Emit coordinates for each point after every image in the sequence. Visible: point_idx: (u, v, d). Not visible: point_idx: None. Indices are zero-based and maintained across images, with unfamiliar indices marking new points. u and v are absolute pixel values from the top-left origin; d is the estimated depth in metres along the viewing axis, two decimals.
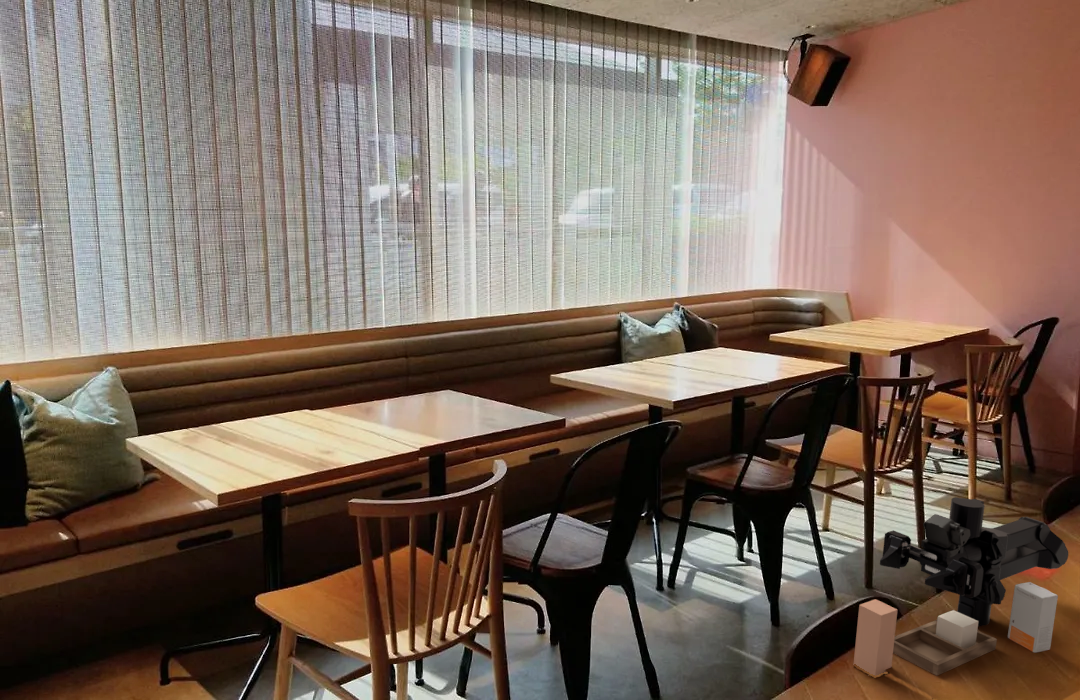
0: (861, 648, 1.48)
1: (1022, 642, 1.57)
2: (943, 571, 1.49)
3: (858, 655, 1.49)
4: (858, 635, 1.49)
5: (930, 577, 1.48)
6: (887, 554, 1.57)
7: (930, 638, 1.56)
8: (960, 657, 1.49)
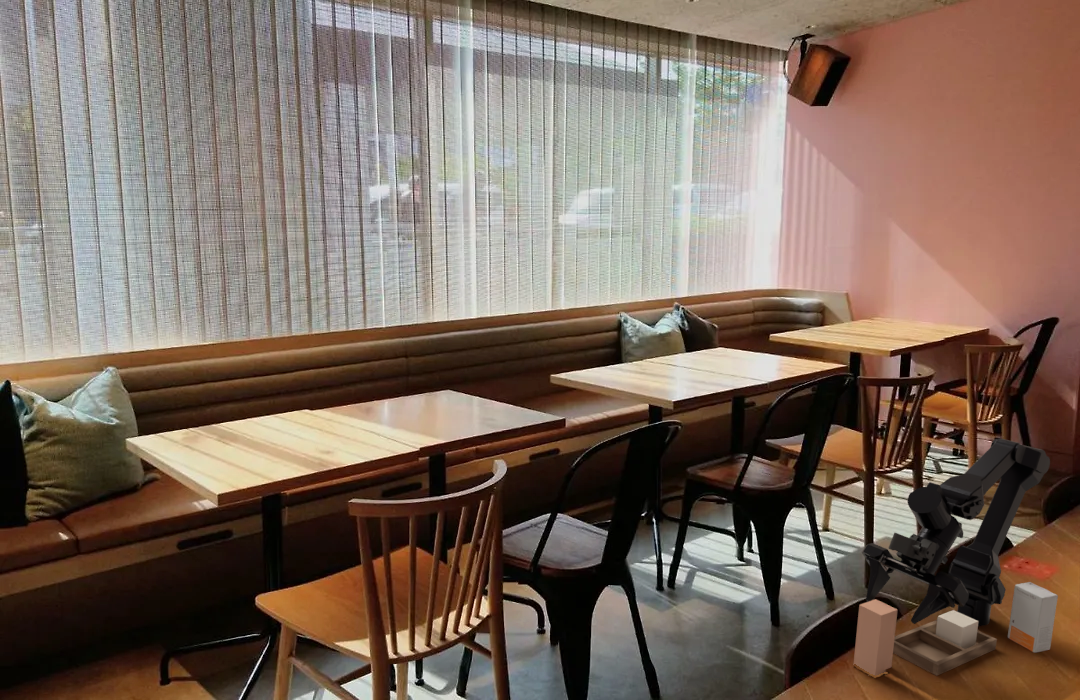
0: (861, 648, 1.48)
1: (1022, 642, 1.57)
2: (924, 601, 1.46)
3: (858, 655, 1.49)
4: (858, 635, 1.49)
5: (914, 616, 1.45)
6: (870, 587, 1.54)
7: (930, 638, 1.56)
8: (960, 657, 1.49)
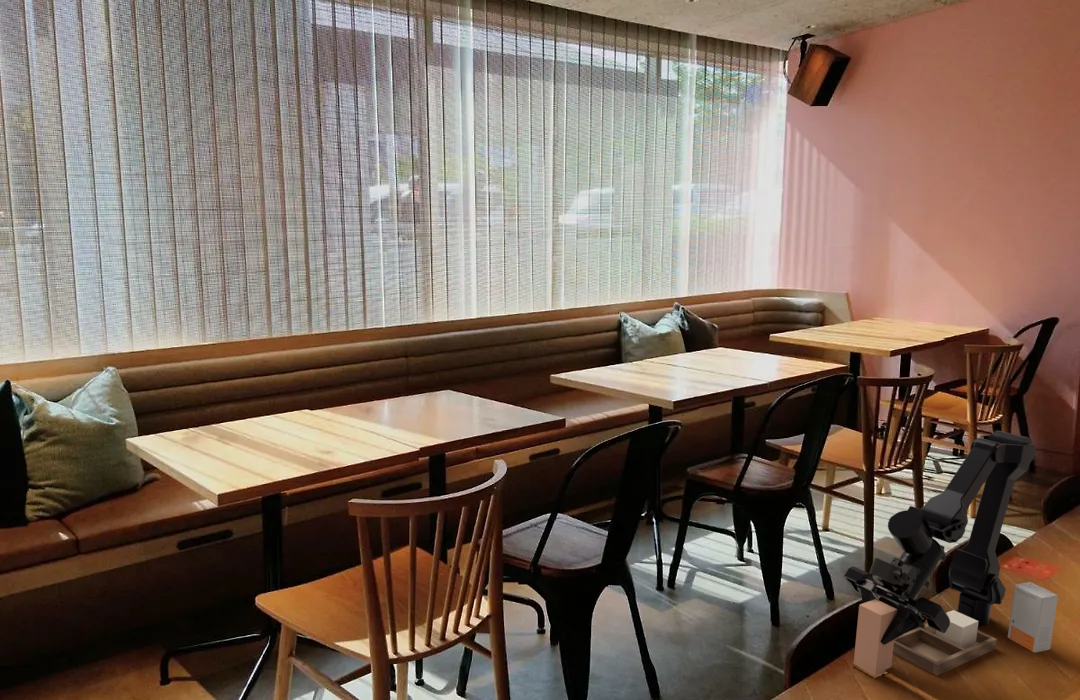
0: (861, 648, 1.48)
1: (1022, 642, 1.57)
2: (894, 621, 1.46)
3: (858, 655, 1.49)
4: (858, 635, 1.49)
5: (884, 637, 1.45)
6: None
7: (930, 638, 1.56)
8: (960, 657, 1.49)
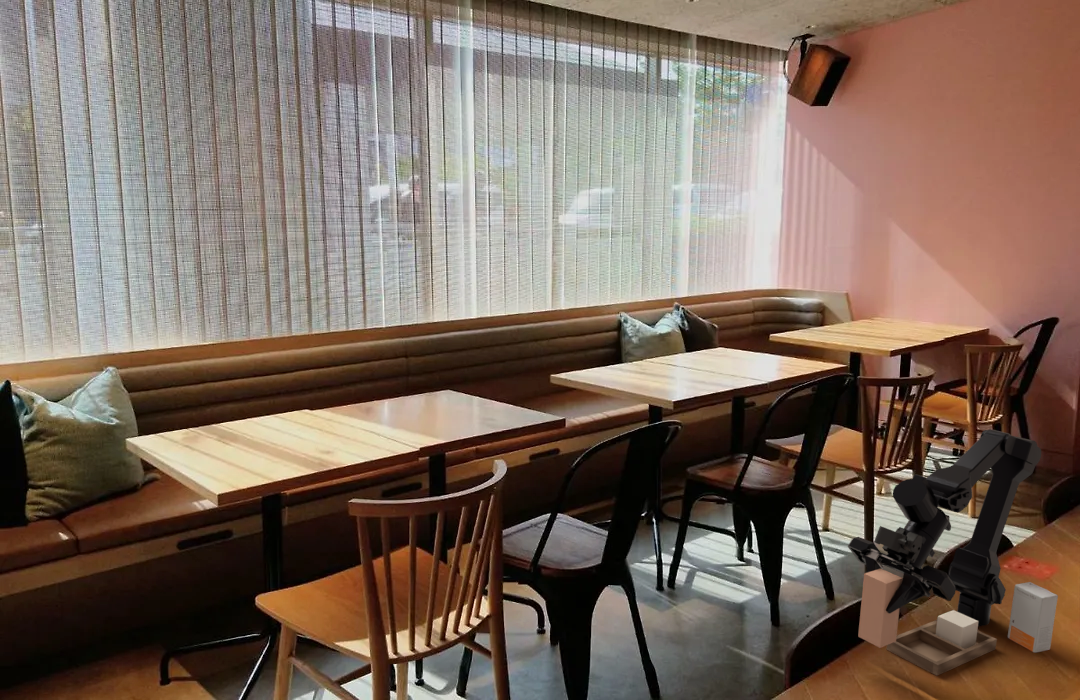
0: (866, 617, 1.47)
1: (1022, 642, 1.57)
2: (899, 590, 1.45)
3: (863, 624, 1.48)
4: (863, 605, 1.48)
5: (889, 606, 1.45)
6: None
7: (930, 638, 1.56)
8: (960, 657, 1.49)
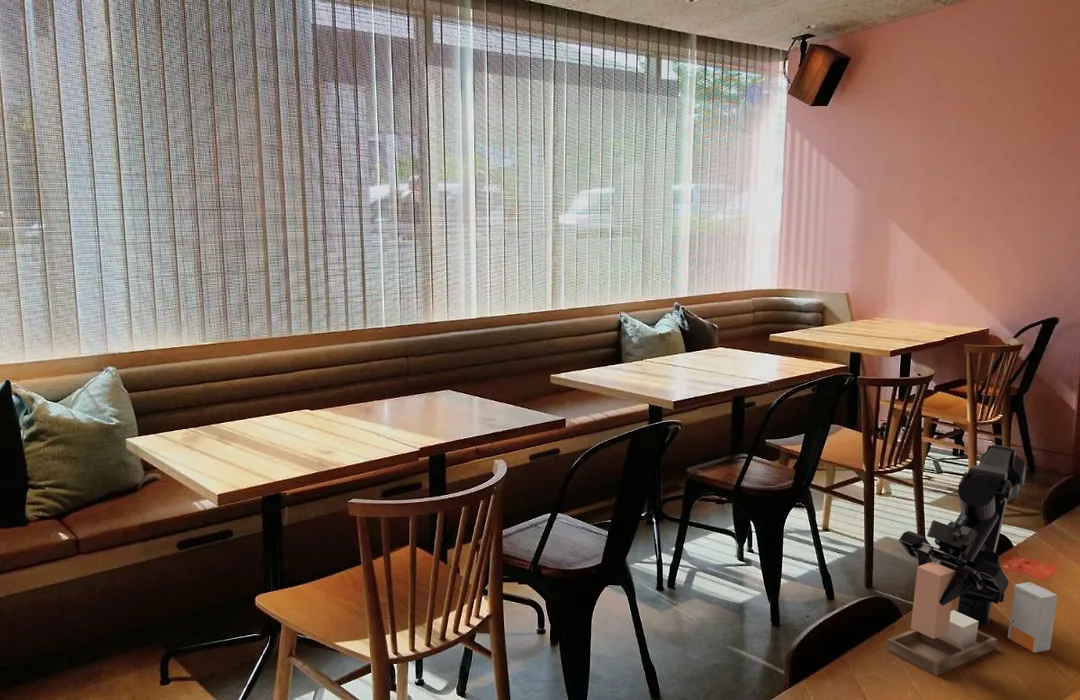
0: (920, 609, 1.51)
1: (1022, 642, 1.57)
2: (953, 582, 1.48)
3: (916, 616, 1.52)
4: (916, 597, 1.51)
5: (943, 598, 1.48)
6: None
7: (930, 638, 1.56)
8: (960, 657, 1.49)
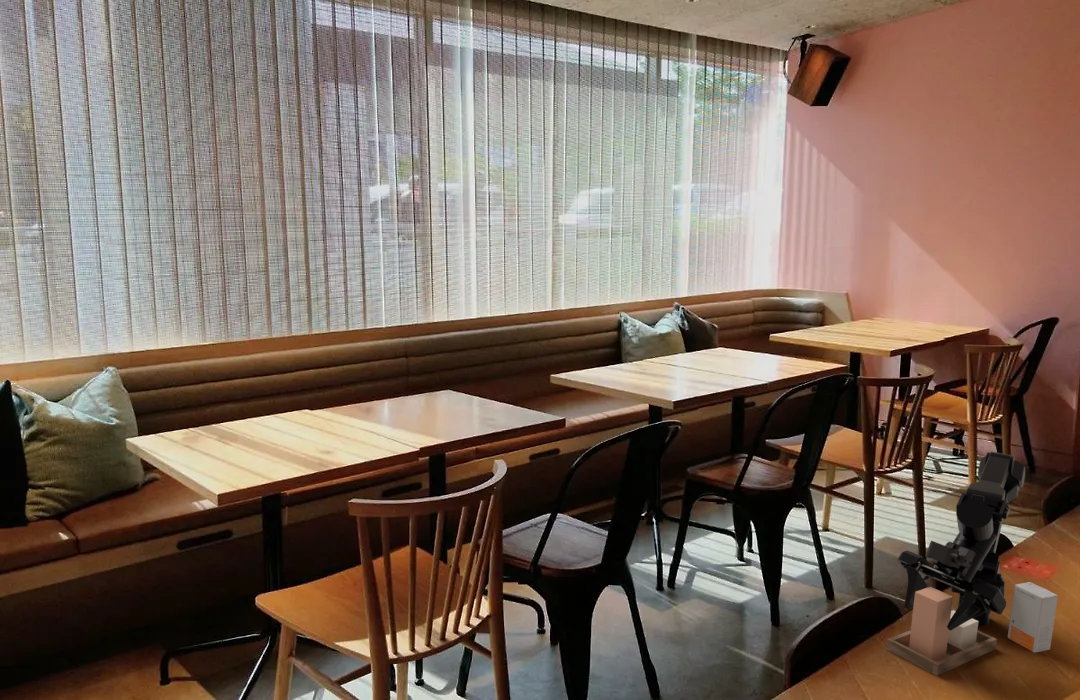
0: (917, 634, 1.52)
1: (1022, 642, 1.57)
2: (960, 607, 1.47)
3: (913, 641, 1.52)
4: (913, 622, 1.52)
5: (951, 623, 1.47)
6: (908, 595, 1.55)
7: None
8: (960, 657, 1.49)
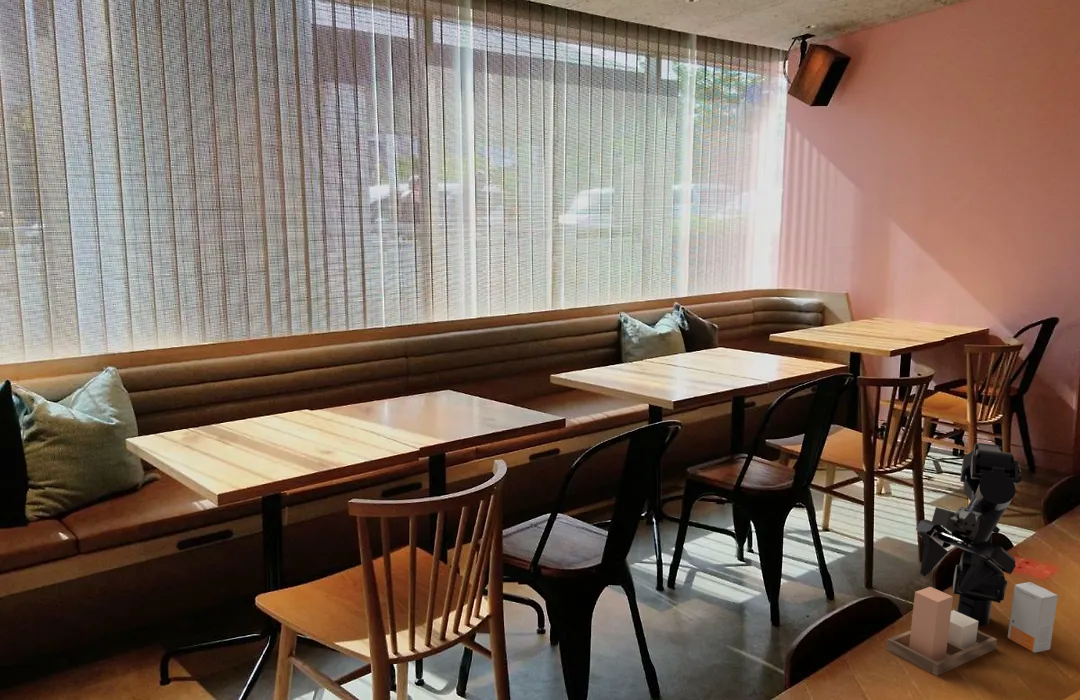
0: (917, 634, 1.52)
1: (1022, 642, 1.57)
2: (970, 570, 1.50)
3: (913, 641, 1.52)
4: (913, 622, 1.52)
5: (961, 586, 1.50)
6: (923, 561, 1.59)
7: None
8: (960, 657, 1.49)
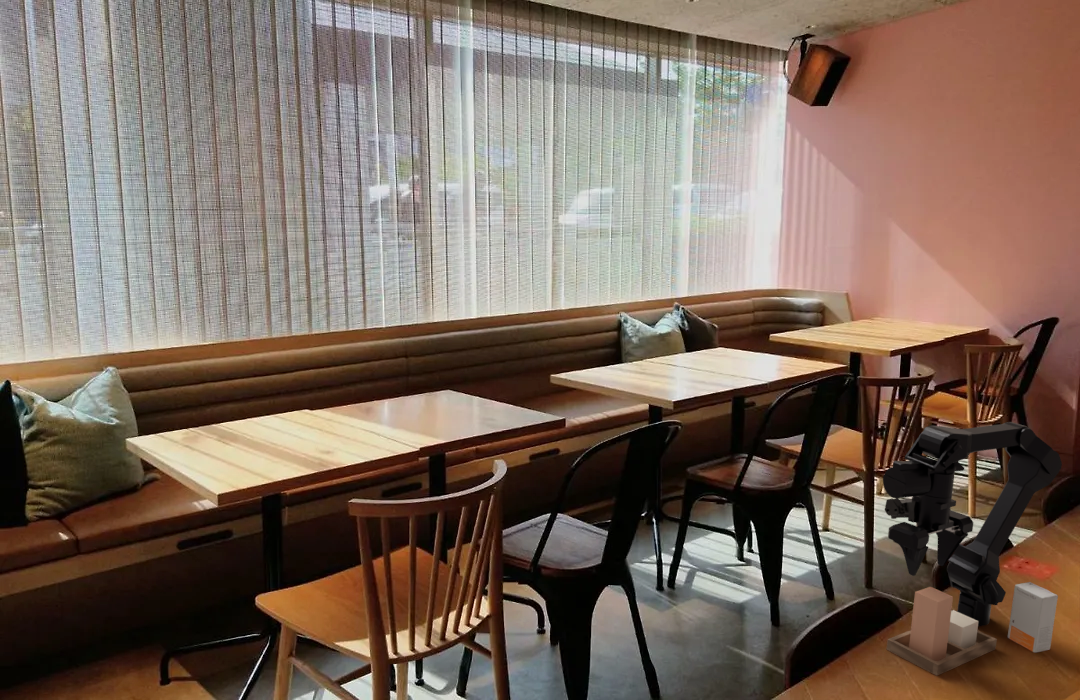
0: (917, 634, 1.52)
1: (1022, 642, 1.57)
2: None
3: (913, 641, 1.52)
4: (913, 622, 1.52)
5: None
6: None
7: None
8: (960, 657, 1.49)
